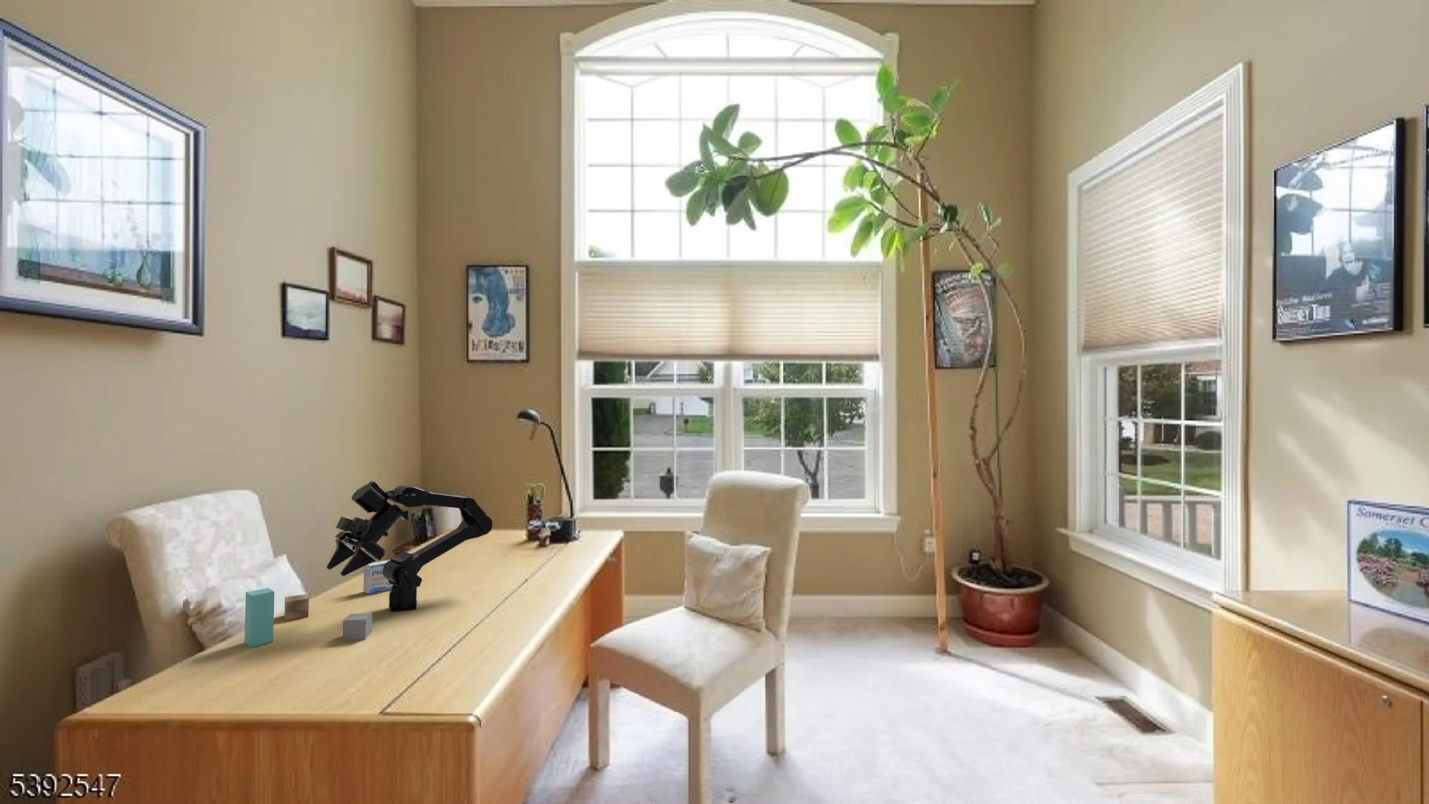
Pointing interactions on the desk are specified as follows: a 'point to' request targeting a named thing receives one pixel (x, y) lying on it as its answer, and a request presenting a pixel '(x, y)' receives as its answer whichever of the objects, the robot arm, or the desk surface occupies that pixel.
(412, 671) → the desk surface
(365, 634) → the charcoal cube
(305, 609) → the walnut cube
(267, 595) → the teal block
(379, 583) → the medicine box
